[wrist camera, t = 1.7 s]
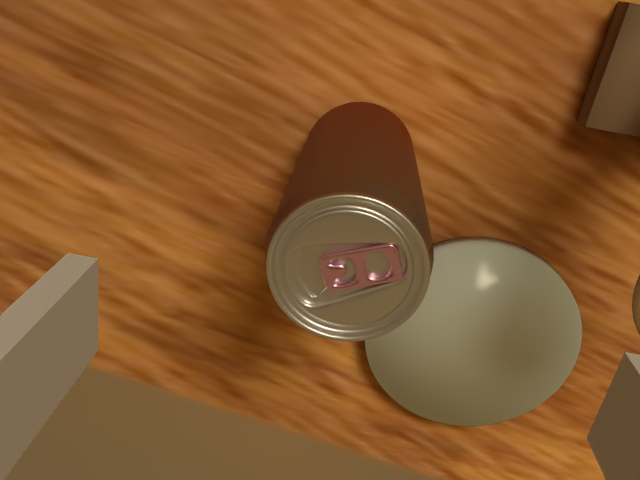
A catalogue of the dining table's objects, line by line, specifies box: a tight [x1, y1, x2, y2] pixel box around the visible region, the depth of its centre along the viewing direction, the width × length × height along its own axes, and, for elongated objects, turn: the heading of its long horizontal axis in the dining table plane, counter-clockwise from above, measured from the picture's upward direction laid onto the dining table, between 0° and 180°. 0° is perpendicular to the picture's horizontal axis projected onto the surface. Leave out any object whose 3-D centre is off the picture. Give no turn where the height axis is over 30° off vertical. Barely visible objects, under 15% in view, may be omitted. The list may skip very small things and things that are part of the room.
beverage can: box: [265, 102, 434, 342], centre depth 27 cm, size 6×6×15 cm
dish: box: [365, 237, 582, 426], centre depth 37 cm, size 13×13×1 cm
